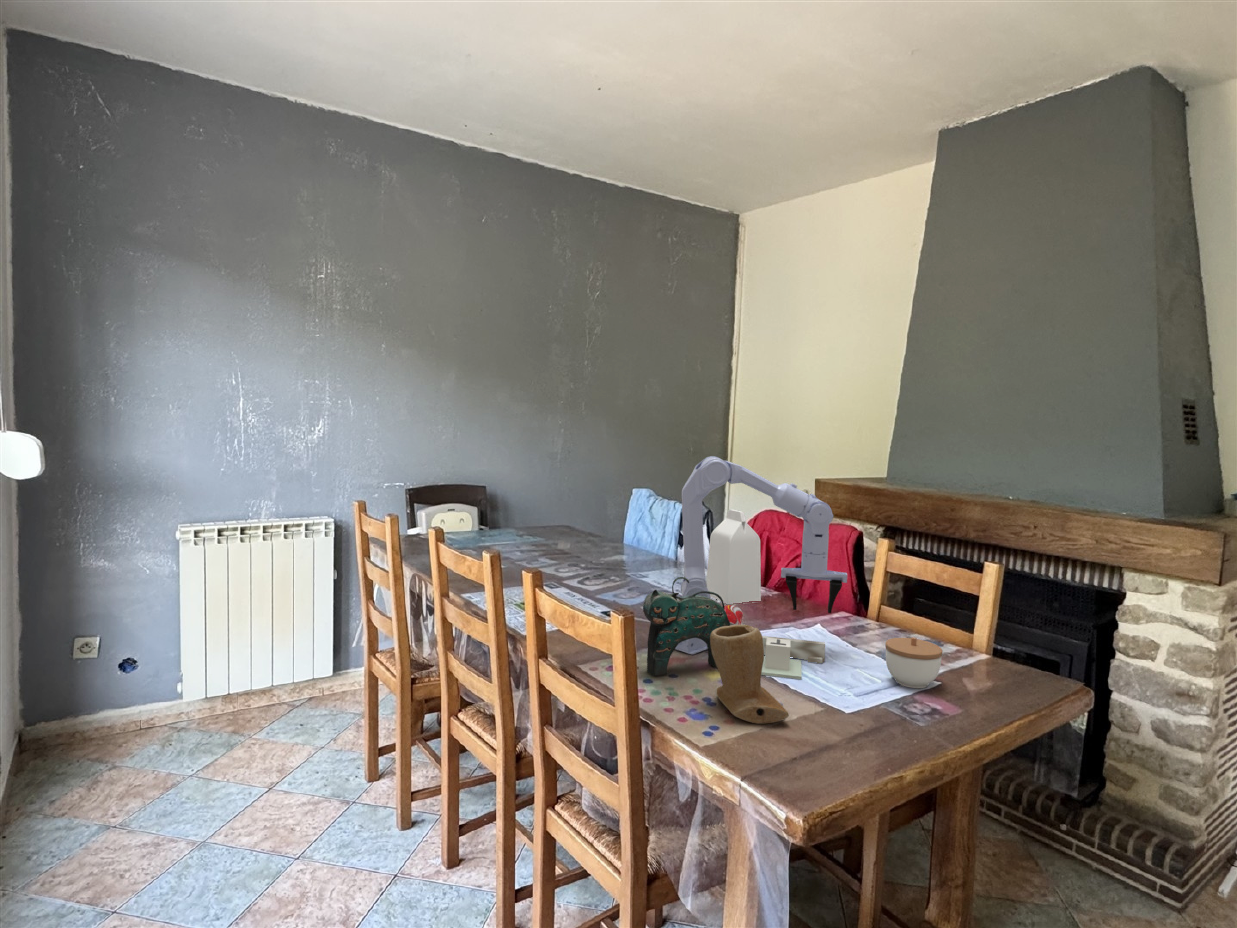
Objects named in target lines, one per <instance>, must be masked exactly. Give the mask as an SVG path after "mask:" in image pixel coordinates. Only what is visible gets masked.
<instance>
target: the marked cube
mask: <svg viewBox="0 0 1237 928" xmlns="http://www.w3.org/2000/svg"><path fill="white" fill-rule="evenodd" d="M790 641H791V640H786V639H777V638H767V640H766V655H765V668H771V669H780V670H788V671H789V666H790Z"/></svg>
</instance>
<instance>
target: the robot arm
mask: <svg viewBox="0 0 1237 928" xmlns="http://www.w3.org/2000/svg"><path fill="white" fill-rule="evenodd" d="M726 483H729V484H730V485H734V484H743V485H745V486H747V487H750V488H752V489H754V490H756V491H758V492H759V493H763V494H765V495H766V496H769V497H771V499H772V501H773V505H774V507H777V508H779V509H781V510H784V511H785V512H787V513H789V514H791V515H793V516H795V517H797V518H802V519H803V529H802V530H803V531H802V543H801V545H802V546H801V547H802V548H801V565H800V566H801V567H794V568H793V567H781V569H780V571H781V572H780V573H781V574H780V578H782V579H784V578H785V583H786V586H787V588H788V590H789V593H790V596H791V601H792V609H793V611H797V606H798V605H797V603H798V602H797V587H798V579H802V580H817V581H829V589H828V592H829V593H828V596H829V597H828V604H827V614H832V610H833V606H834V604H835V600H836V598H837V596H838V595H839V592H841V590H842V588H843V583H844V584H847V583H848V573H847V572H843V571H835V570H829V569H828V559H829V540H830V539H829V538H830V537H829V536H830V533H829V530H830V529H829V528H830V527H829V526H830V524H831V523H832V521H833V519H834V514H833V510H832V508H831V507H830V505H829V504H828V503H827V502H826V501H825V502H824V501H822V500H820V499H819V498H818V497H816V495H815V494H813V493H810V494H808V493H807V492H805V491H803V490H801V489H799V488H798V485H797V484H795V483H793V482H790V484H789V483H787V482H784V483H780V484H776V483H774V482H772V481H771V480H769V479H766V478H765V477H763V476H761V475H759V474H757V473H756V472H754V471H752V470H750V469H748V468H746V467H745V466H742V465H740V464H737V463H735V462H731V461H730V460H725V459H724V460H723V459H721V458H720V457H718V456H714V455H711V456H707V457H705V458H704V459H702V460H701V461H699V462H698V463H697V464H696V465H695V466H694V468H693V471H692V473H691V474H690V476H689V477H688V478H687V480H686V482H685V484H684V485H683V487H682V489H681V510H682V513H681V515H682V537H683V538H682V539H683V540H682V541H683V563H684V564H683V566H684V567H683V577H685V578H687V579H688V580H689V583H688V582H687V581H686V580H685V579H683V580H682V581H681V583H680V593H681V595H682V596H681V597H684V596H690V595H693V594H695V593H697V592H701V591H709V590H708V589H707V584H706V579H707V577H706V573H705V572H706V571H705V550H704V549H705V548H704V525H703V524H704V520H703V517H704V516H703V499H705V497H707V496H708V495H709V494H710V493H711V492H712V491H713V490H716V489H718V488H719V487H722V486H724V485H725V484H726ZM697 596H704V597H708V598H710V599H712V598H711V596H710V594H708V593H700V594H697ZM675 650H676V651H680V652H681V653H682V652H683V653H685V654H688V655H695V654H698V653H700V652H703V651H707V650H708V648H707V644H706V643H705V642H704V641H703V640H701V639H699V638H691V639H688V640H685V641H683V642H681V643H679V644H678V645H677V647H676V648H675Z"/></svg>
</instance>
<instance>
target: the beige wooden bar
mask: <svg viewBox="0 0 1237 928" xmlns="http://www.w3.org/2000/svg"><path fill="white" fill-rule="evenodd" d="M762 638H763V648H764V655H766V640H767V638H777V639H786V640H791V641H790V657H793V658H799V659H804V660H803V661H807V663H809V662H817V663H816V664H819V663H822V664H823V663H825V658H826V657H825V656H826V642H825V641H815V640H807V639H806V640H804V639H796V638H795V639H794V638H788V637H787V638H785V637H777V636H776V637H775V636H767V635H762ZM799 659H798V660H799Z"/></svg>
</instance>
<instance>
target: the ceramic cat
mask: <svg viewBox="0 0 1237 928" xmlns="http://www.w3.org/2000/svg"><path fill="white" fill-rule="evenodd" d="M680 579H685V580H686V581H687V582H688V583H689V580H688V579H687V578H685V577H684V576H678V577H676V578H675V579H674V580H673V581H672V585H671V592H672V593H667V592H665V591H661V590H657V589H654V590H653V591H652V592H650V593H649V594H647V595H646V596H645V598H644V601H643V605H642V612H643V615H644V616H645V618H646V619H647V620H648V621H649V622H650V624H649V629H648V636H647V637H648V638H647V656H646V670H647V672H648V673H649V674H650V675H651V676H653V678H654V677H665V676H666V675H667V671H668V666H669V665H668V664H669V661H670V659H671V656H672V655H673V653H674V651H675V650H676V649H675V648H676V647H677V645H678V644H679V643H681V642H683V641H685V640H688V639H691V638H699V639H701V640H703V641H704V642H705V643H706V644H707V648H708V649H707V664H708V665H710V666H711V667H712V668H716V669H718V668H717V665H716V663H715V660H714V658H713V655H712V651H711V644H710V635H711V633H712V631H713V630H715V629H717V628H720V627H723V626H730V622H729V619H728V617H727V614H726V612H725V610H724V609H725V607H724V606H725V604H724V603H723V600H722V598H721V597H720V596H719V595H718V594H716V593H714V592H710V591H701V592H697V593H695V594H693V595H690V596H684V597H683V596H678V595H679V593H680V592H675V591H674V584H675V583H676V582H677V581H679V580H680ZM700 593H708V594H713V595H716V596H717V597H718V598H719V599H720V600H721V602H718V601H717V600H715V599H713V598H711V599H710V598H708V597H704V596H697V594H700ZM720 603H721V604H720Z"/></svg>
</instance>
